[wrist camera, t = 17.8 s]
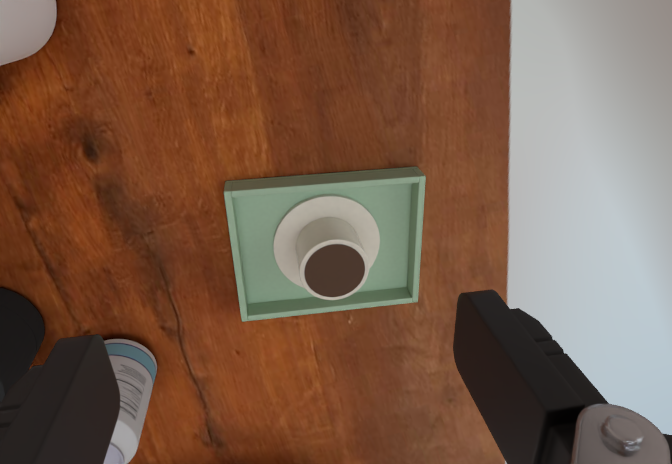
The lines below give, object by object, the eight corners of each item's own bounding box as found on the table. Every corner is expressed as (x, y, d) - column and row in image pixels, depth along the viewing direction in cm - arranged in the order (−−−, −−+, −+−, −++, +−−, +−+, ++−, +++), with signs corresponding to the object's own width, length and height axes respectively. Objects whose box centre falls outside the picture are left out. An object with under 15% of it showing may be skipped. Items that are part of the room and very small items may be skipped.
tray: (416, 166, 44) (425, 175, 42) (410, 287, 50) (418, 302, 48) (225, 180, 42) (223, 191, 39) (242, 306, 48) (241, 322, 45)
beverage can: (79, 378, 49) (30, 486, 38) (93, 325, 46) (45, 424, 35) (149, 391, 51) (122, 497, 40) (166, 340, 48) (142, 439, 38)
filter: (379, 189, 44) (394, 212, 39) (377, 282, 48) (390, 313, 44) (268, 198, 42) (270, 223, 38) (277, 293, 47) (280, 325, 42)
